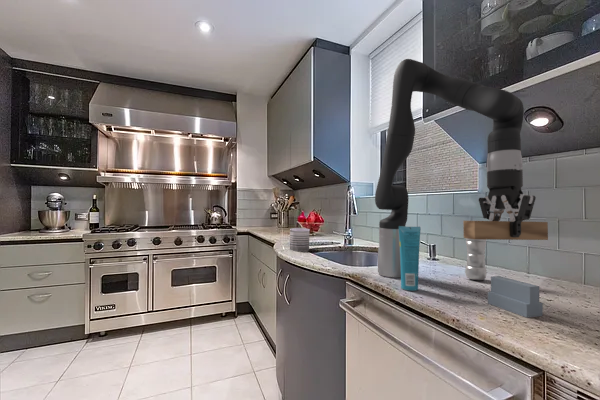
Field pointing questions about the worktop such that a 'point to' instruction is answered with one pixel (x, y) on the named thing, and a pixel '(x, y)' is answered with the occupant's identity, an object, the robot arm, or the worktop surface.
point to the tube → (409, 256)
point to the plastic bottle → (475, 259)
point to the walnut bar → (504, 230)
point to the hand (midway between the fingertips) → (505, 236)
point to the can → (299, 239)
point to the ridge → (515, 296)
